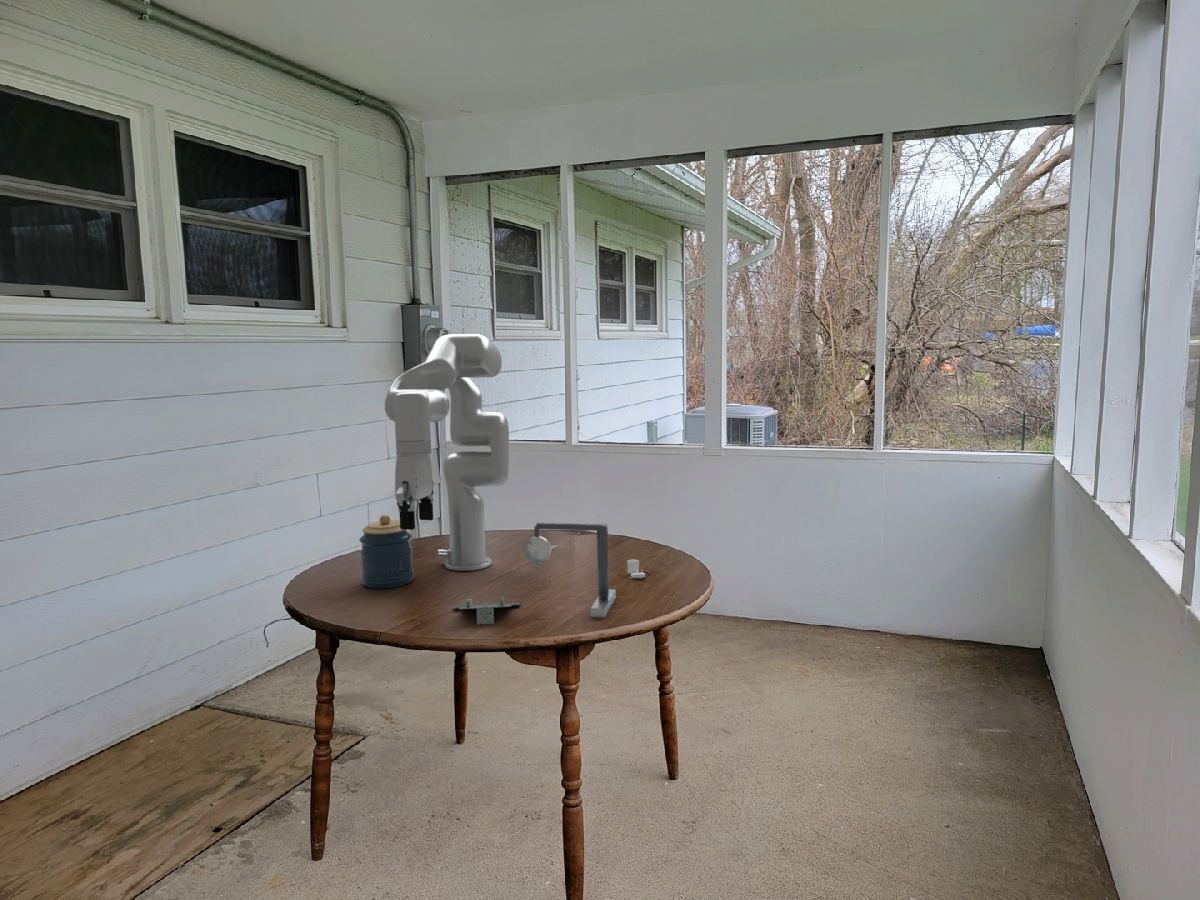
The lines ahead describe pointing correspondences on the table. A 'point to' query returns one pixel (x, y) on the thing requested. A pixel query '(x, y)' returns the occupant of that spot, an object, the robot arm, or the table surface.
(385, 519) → the canister
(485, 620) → the metal bracket
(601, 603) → the metal desk lamp
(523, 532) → the table surface
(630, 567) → the white ring with cylinder
